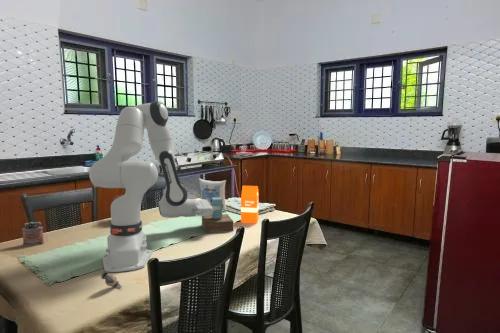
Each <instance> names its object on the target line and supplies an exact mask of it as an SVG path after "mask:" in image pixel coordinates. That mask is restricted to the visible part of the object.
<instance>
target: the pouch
mask: <svg viewBox="0 0 500 333" xmlns="http://www.w3.org/2000/svg"><path fill="white" fill-rule="evenodd" d="M198 181H199V188H200V199H205V200H207V201H208V202H209V203H212V198H218V197H221V198H222V211H224V212H226V211H228V210H227V207H226V195H225V194H226V182H227V180H226V179H225V180H221V181H218V180H217V181H213V180H208V179H207V180H206V179H202V178H200V177H199V178H198Z"/></svg>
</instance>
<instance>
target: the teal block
mask: <svg viewBox="0 0 500 333" xmlns="http://www.w3.org/2000/svg"><path fill="white" fill-rule="evenodd" d="M212 206H220V210H215V211H213V214H212V217H213V219H218V218H222V215H223V210H222V198H221V197H218V198H212Z"/></svg>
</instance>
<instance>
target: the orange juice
mask: <svg viewBox="0 0 500 333" xmlns="http://www.w3.org/2000/svg"><path fill="white" fill-rule="evenodd" d="M259 195H260V193H259V186H258V185H242V189H241V196H240V223H244V224H247V223H248V224H257V223H258V221H259V201H260V200H259V197H260V196H259Z"/></svg>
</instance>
